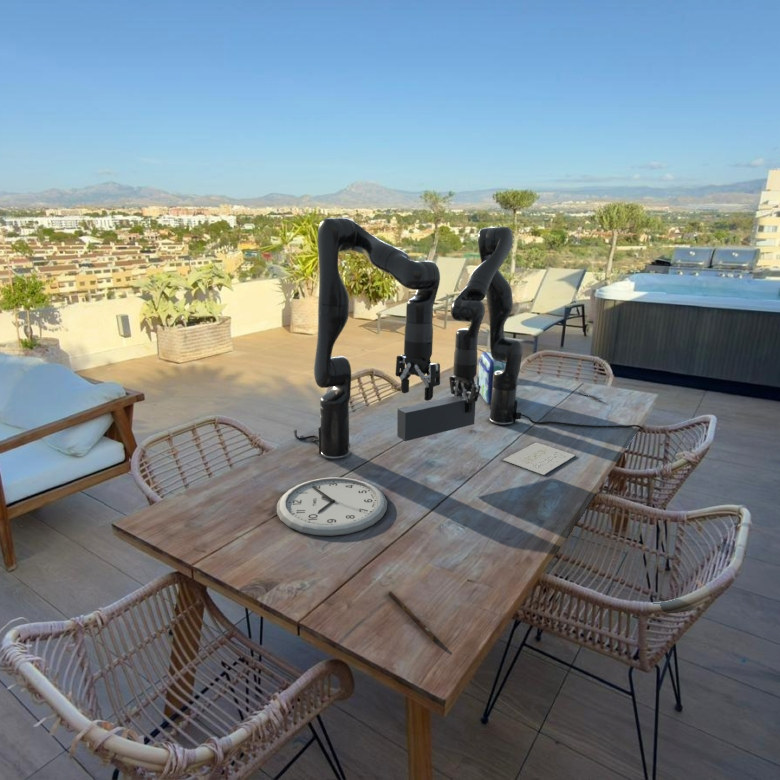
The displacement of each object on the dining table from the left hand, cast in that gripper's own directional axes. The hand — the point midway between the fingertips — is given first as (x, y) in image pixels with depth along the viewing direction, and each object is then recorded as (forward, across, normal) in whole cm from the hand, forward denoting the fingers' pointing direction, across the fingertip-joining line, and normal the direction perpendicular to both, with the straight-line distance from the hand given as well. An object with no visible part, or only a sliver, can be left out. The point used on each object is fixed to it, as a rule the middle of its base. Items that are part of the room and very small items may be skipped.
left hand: (416, 396), depth 144 cm
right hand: (+14, -8, +32) cm, 36 cm away
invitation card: (+29, +14, +47) cm, 57 cm away
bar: (+19, -11, +22) cm, 31 cm away
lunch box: (+29, -34, +87) cm, 98 cm away
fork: (+29, -5, +123) cm, 127 cm away
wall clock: (+29, -9, -23) cm, 38 cm away
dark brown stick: (+28, +35, -39) cm, 60 cm away
